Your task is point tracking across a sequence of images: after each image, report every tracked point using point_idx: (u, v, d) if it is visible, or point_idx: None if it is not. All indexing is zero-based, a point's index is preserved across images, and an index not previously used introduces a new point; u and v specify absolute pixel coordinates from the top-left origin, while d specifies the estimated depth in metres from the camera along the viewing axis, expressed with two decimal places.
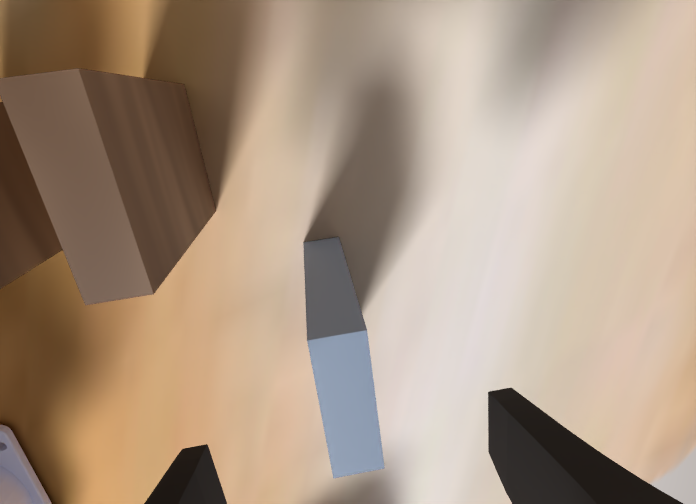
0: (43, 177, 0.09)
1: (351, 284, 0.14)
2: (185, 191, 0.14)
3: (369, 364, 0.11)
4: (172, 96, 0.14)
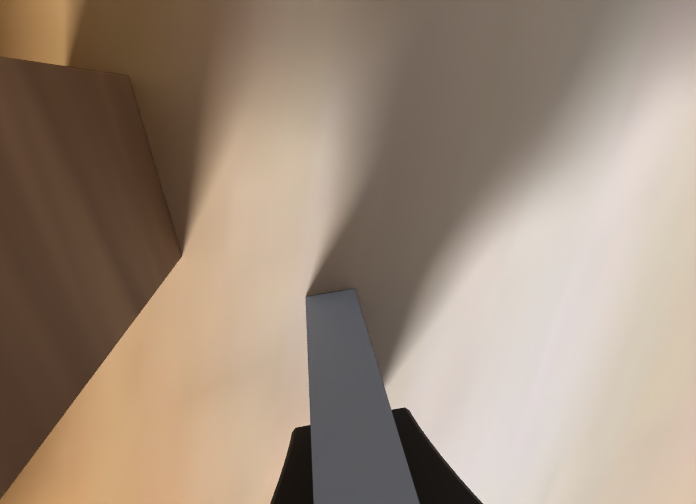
0: None
1: (383, 394, 0.08)
2: (117, 245, 0.08)
3: None
4: (99, 93, 0.09)
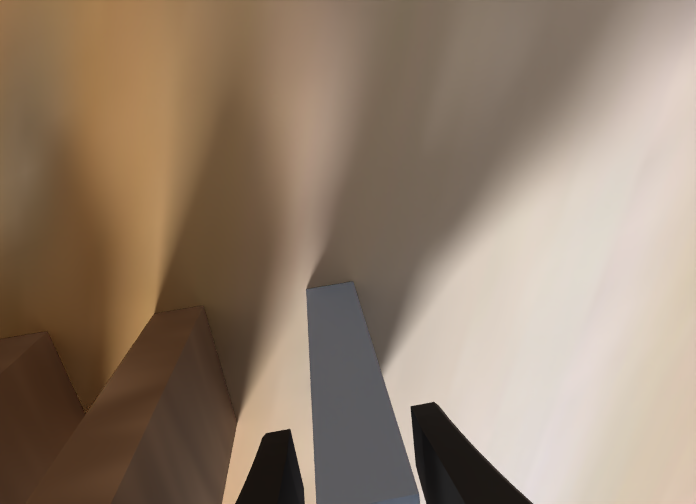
0: None
1: (379, 376, 0.09)
2: (207, 469, 0.11)
3: None
4: (192, 351, 0.12)
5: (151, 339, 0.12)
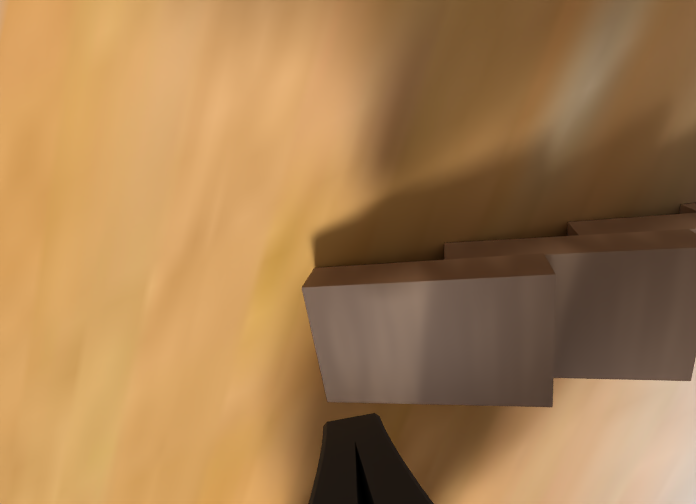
0: None
1: None
2: None
3: None
4: None
5: None
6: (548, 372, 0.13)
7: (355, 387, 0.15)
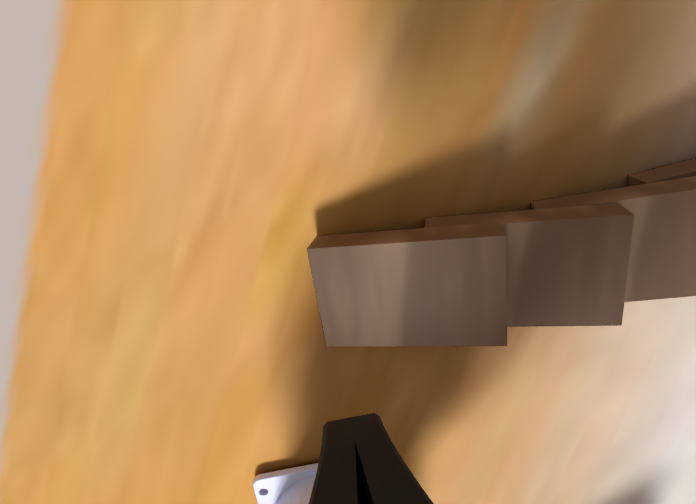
0: None
1: None
2: None
3: None
4: None
5: (683, 170, 0.18)
6: (502, 316, 0.17)
7: (349, 333, 0.19)
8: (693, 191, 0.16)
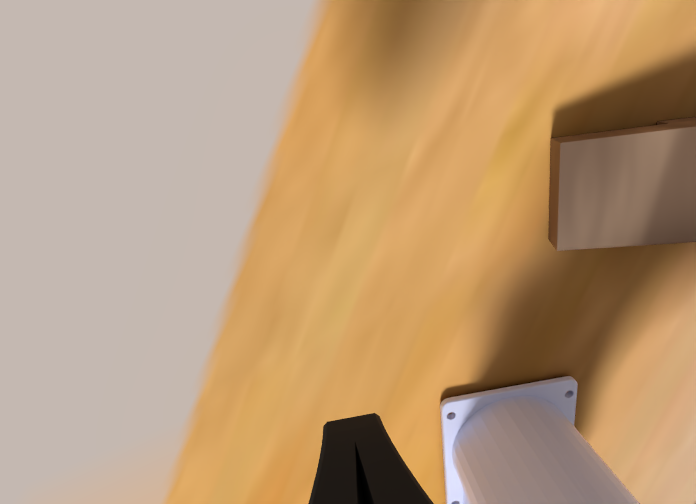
0: None
1: None
2: None
3: None
4: None
5: None
6: None
7: (586, 234, 0.19)
8: None
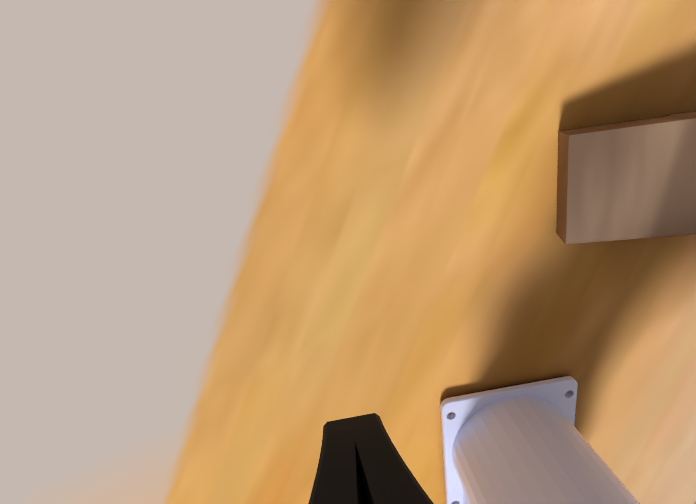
0: None
1: None
2: None
3: None
4: None
5: None
6: None
7: (595, 227, 0.19)
8: None
